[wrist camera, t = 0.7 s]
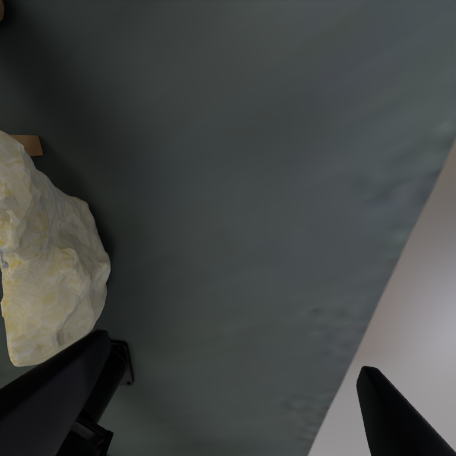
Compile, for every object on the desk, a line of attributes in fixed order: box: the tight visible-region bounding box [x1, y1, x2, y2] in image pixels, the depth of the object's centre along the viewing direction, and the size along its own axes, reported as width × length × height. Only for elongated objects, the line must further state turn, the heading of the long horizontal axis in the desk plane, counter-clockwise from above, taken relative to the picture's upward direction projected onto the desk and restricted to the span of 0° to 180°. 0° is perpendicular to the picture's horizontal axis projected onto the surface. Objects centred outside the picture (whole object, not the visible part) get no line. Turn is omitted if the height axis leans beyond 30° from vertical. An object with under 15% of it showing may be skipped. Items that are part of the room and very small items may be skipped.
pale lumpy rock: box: [0, 130, 111, 367], centre depth 19 cm, size 15×7×15 cm
